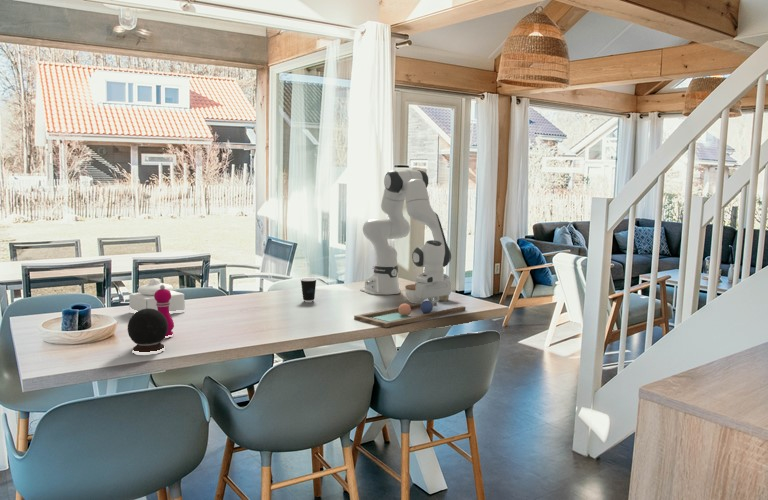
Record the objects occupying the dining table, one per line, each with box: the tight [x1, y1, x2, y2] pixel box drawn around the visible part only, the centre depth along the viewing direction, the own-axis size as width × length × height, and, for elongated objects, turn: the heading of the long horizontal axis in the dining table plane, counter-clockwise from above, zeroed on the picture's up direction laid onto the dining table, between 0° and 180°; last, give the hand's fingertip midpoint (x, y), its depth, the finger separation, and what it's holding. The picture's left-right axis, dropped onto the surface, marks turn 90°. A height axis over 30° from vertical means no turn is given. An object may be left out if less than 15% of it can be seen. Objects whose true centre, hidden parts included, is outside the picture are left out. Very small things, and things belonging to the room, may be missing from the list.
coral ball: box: [398, 303, 412, 316], centre depth 276 cm, size 6×6×6 cm
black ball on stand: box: [127, 308, 168, 352], centre depth 220 cm, size 13×13×15 cm
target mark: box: [371, 312, 413, 322], centre depth 272 cm, size 14×14×1 cm
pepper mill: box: [154, 285, 175, 336], centre depth 239 cm, size 7×7×20 cm
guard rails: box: [353, 300, 466, 328], centre depth 279 cm, size 20×49×2 cm, turn 132°
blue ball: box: [419, 300, 434, 314], centre depth 282 cm, size 6×6×6 cm
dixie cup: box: [300, 277, 318, 303], centre depth 308 cm, size 8×8×11 cm
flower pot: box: [438, 281, 453, 302], centre depth 312 cm, size 9×9×9 cm
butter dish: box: [128, 277, 186, 311], centre depth 282 cm, size 18×18×16 cm
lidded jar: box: [404, 282, 426, 304], centre depth 307 cm, size 11×11×9 cm
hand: (433, 306), depth 288 cm, fingers closed
